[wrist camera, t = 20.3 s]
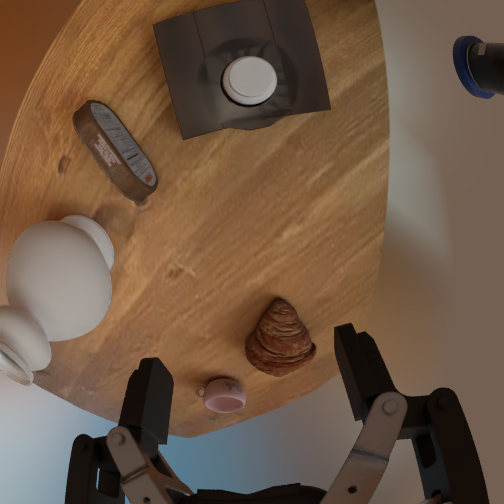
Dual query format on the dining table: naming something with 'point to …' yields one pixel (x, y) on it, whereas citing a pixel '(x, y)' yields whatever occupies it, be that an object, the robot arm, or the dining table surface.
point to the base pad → (236, 46)
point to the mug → (223, 395)
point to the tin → (115, 150)
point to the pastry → (280, 341)
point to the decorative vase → (53, 291)
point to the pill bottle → (249, 80)
